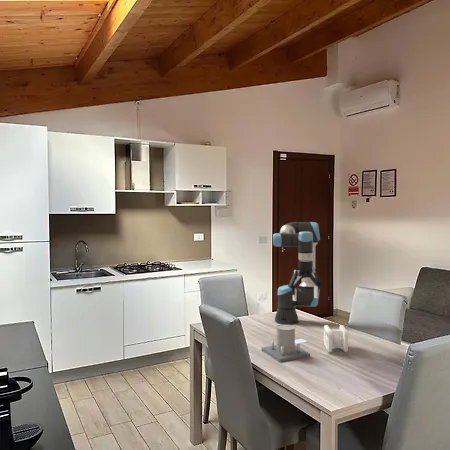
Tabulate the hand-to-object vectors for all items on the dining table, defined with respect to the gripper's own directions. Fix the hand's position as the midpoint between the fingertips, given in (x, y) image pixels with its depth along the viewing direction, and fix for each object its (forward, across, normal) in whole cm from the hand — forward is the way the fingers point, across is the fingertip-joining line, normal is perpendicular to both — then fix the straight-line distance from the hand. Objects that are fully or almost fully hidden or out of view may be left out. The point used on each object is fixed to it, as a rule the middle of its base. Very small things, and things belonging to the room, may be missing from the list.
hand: (305, 299), depth 235 cm
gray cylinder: (+24, -17, -7) cm, 30 cm away
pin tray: (+25, -17, -7) cm, 31 cm away
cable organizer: (+26, +10, -13) cm, 30 cm away
